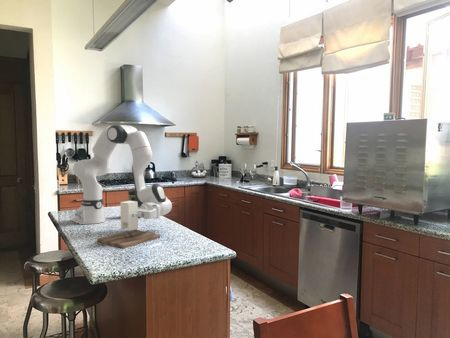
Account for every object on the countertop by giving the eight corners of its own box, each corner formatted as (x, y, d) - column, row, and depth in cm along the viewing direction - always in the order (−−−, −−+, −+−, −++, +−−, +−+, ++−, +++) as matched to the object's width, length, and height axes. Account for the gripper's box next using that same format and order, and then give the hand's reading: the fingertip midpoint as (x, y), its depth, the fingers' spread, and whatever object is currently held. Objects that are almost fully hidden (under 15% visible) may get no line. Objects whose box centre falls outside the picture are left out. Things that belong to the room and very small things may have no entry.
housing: (121, 229, 187) (120, 202, 186) (130, 227, 192) (129, 200, 191) (129, 230, 184) (128, 203, 183) (138, 228, 189) (137, 201, 188)
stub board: (97, 241, 184) (97, 232, 184) (133, 231, 204) (133, 223, 204) (124, 248, 173) (123, 239, 173) (160, 237, 193) (160, 229, 193)
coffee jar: (143, 217, 242) (142, 189, 240) (131, 218, 238) (130, 190, 236) (139, 214, 250) (138, 187, 249) (127, 216, 246) (126, 188, 245)
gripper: (134, 202, 204) (114, 206, 192) (161, 206, 192) (141, 210, 181) (134, 214, 204) (114, 218, 193) (161, 218, 193) (141, 223, 181)
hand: (127, 214), depth 187 cm, fingers closed on housing, 6 cm apart
